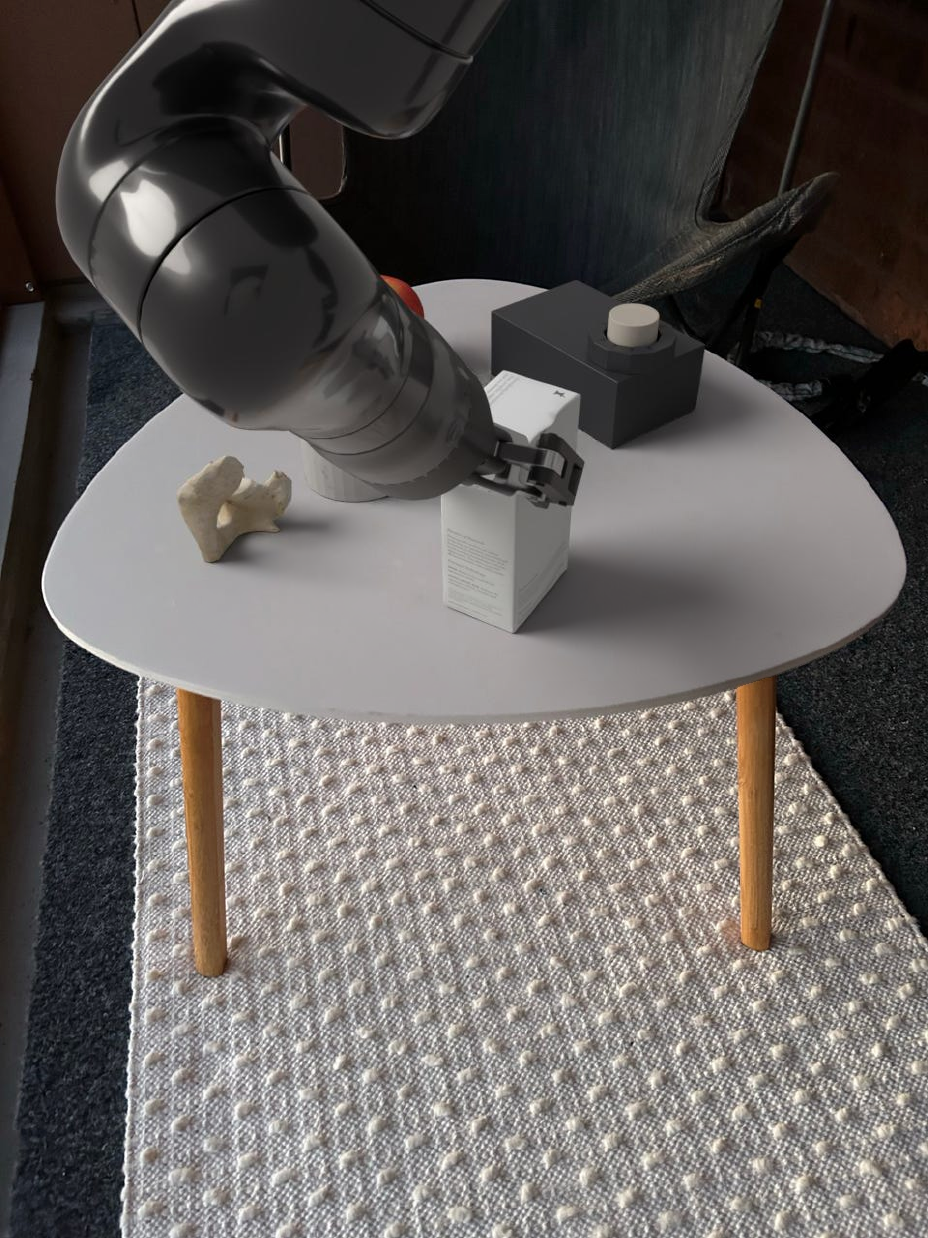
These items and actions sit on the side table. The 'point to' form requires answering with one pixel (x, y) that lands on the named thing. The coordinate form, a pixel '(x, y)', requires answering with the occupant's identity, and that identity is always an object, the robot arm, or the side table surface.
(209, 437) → the side table surface
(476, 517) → the cosmetic box
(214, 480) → the bone
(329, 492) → the mug
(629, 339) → the beige push button
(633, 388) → the dark gray box
